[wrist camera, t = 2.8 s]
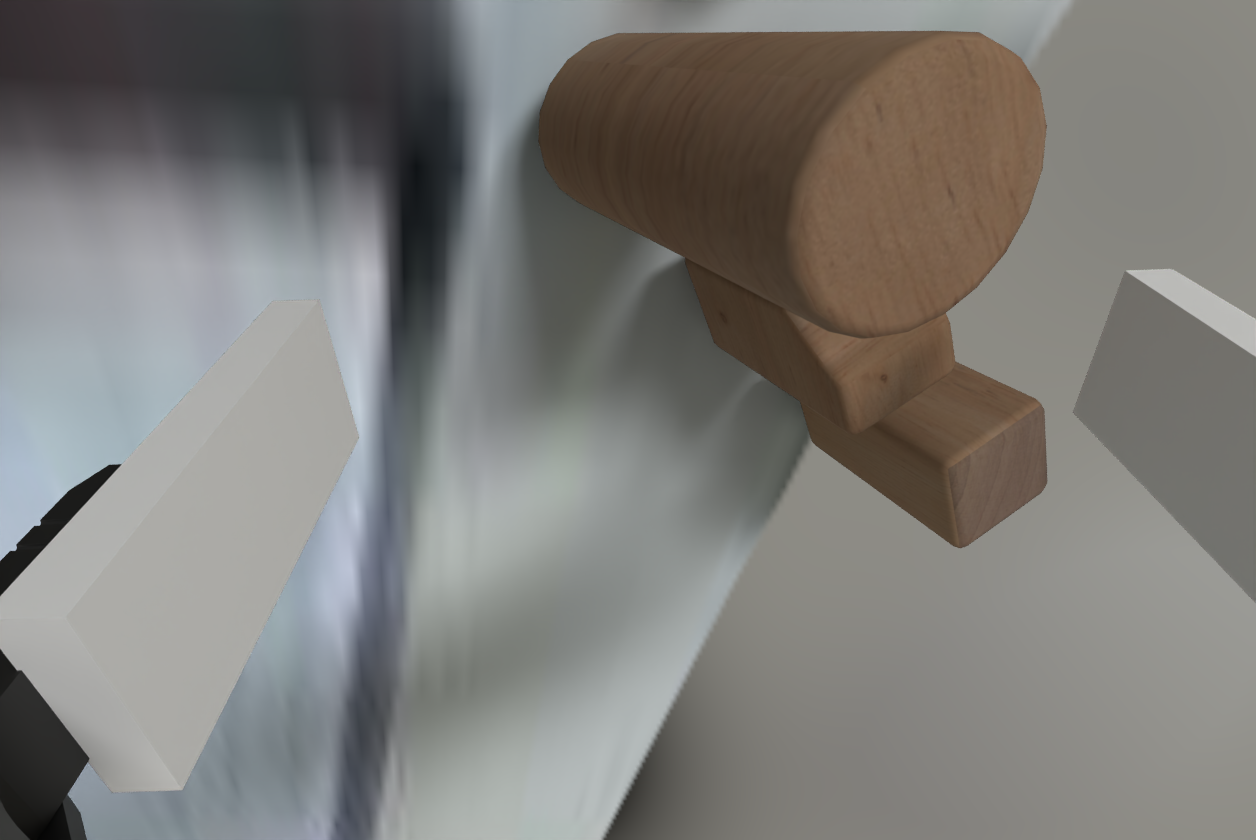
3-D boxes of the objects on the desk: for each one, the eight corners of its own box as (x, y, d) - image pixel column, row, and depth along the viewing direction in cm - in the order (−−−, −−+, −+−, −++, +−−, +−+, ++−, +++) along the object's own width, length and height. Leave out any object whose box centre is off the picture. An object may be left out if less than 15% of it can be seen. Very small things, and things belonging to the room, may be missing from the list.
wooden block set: (893, 349, 25) (1207, 503, 17) (685, 484, 24) (915, 723, 16) (760, -354, 15) (1402, -848, 7) (382, -184, 14) (584, -532, 5)
